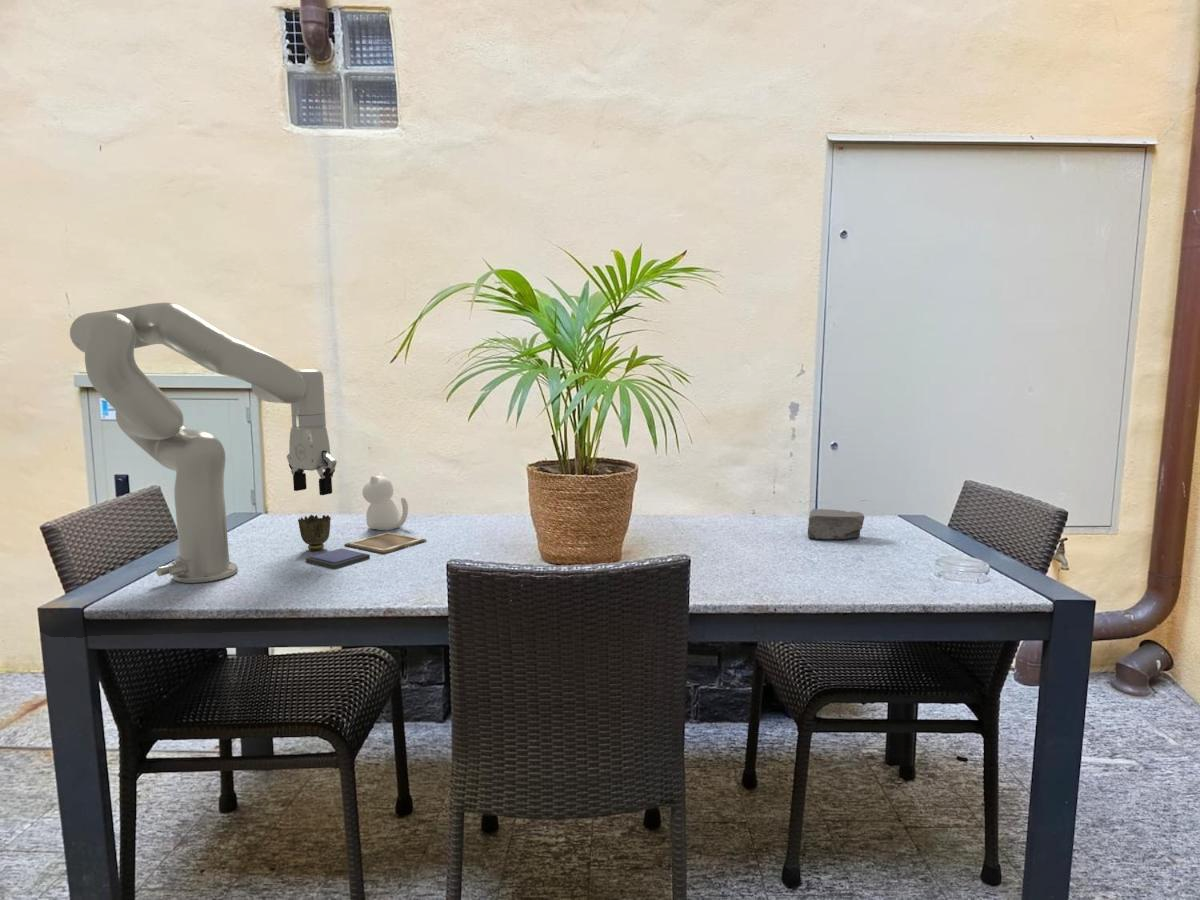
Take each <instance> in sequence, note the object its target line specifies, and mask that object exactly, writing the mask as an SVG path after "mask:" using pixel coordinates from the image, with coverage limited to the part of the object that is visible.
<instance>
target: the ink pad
mask: <svg viewBox="0 0 1200 900" xmlns="http://www.w3.org/2000/svg"><path fill="white" fill-rule="evenodd" d="M370 556H371V554H367V553H363V552H359V551H356V550H355V551H354V550H350V549H346V548H338V549H337V548H336V549H335V550H334V549H333V550H329V551H327V552H323V553H319V554H316V555H313V556H309V557H306V558H305V563H308V562H309V563H308V564H312V563H313V564H312V565H316V564H317V565H316V566H320V565H322V566H321V567H324V566H326V567H325V568H328V567H330V569H332V568H334V569H333V570H335V568H336V569H339V568H342V567H341V566H343V567H345V565H346V566H349V565H352V564H351V563H353V564H355V562H356V563H359V562H362V561H361V560H363V561H365V559H366V560H369V559H371V557H370ZM338 567H339V568H338Z"/></svg>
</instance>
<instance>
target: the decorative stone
mask: <svg viewBox="0 0 1200 900" xmlns="http://www.w3.org/2000/svg"><path fill="white" fill-rule="evenodd" d="M864 521H865V515H864V513H862V512H859V511H853V510H852V511H846V510H841V509H840V510H839V509H825V508H821V509H819V508H812V509H811V511H810V513H809V517H808V525H807V539H809V540H811V541H822V542H823V541H825V542H828V541H830V542H831V541H832V542H833V541H835V542H840V541H841V542H844V541H853V540H857V539H858V538H860V536H861V530H862V529H863V524H864Z"/></svg>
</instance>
